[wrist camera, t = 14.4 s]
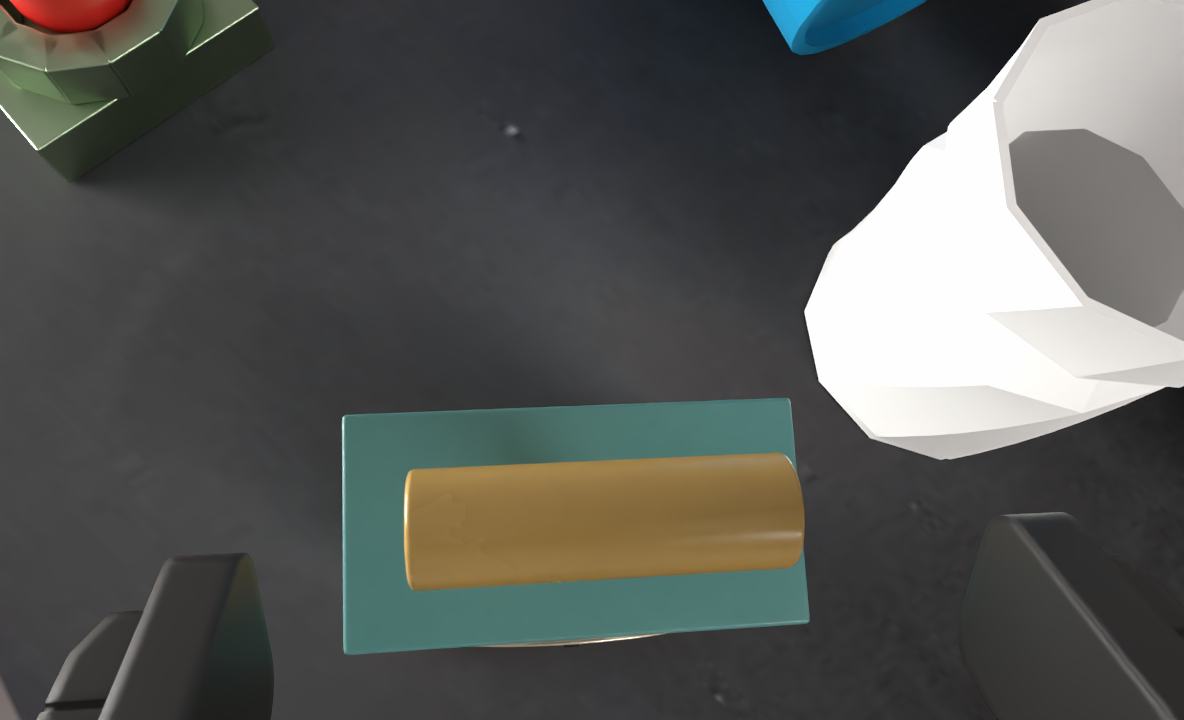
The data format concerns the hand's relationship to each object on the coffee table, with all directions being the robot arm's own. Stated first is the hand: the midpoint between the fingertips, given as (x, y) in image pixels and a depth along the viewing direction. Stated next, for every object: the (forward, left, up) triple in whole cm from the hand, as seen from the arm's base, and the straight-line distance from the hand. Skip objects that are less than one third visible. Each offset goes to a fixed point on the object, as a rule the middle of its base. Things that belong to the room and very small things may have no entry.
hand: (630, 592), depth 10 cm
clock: (+2, -1, -17) cm, 17 cm away
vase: (-2, -16, -18) cm, 24 cm away
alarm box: (+23, -2, -18) cm, 29 cm away
